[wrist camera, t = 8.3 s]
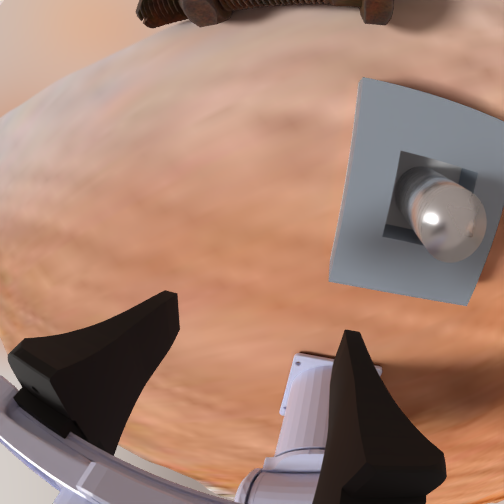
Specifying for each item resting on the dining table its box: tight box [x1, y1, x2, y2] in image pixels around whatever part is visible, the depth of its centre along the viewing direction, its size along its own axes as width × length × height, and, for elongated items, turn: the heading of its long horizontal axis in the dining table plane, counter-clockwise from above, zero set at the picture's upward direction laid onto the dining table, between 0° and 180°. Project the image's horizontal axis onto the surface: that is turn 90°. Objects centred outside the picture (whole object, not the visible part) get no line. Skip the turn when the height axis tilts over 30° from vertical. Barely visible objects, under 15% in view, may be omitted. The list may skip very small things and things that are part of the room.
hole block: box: [329, 77, 504, 306], centre depth 16 cm, size 12×10×3 cm
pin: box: [395, 166, 487, 263], centre depth 14 cm, size 4×4×6 cm
